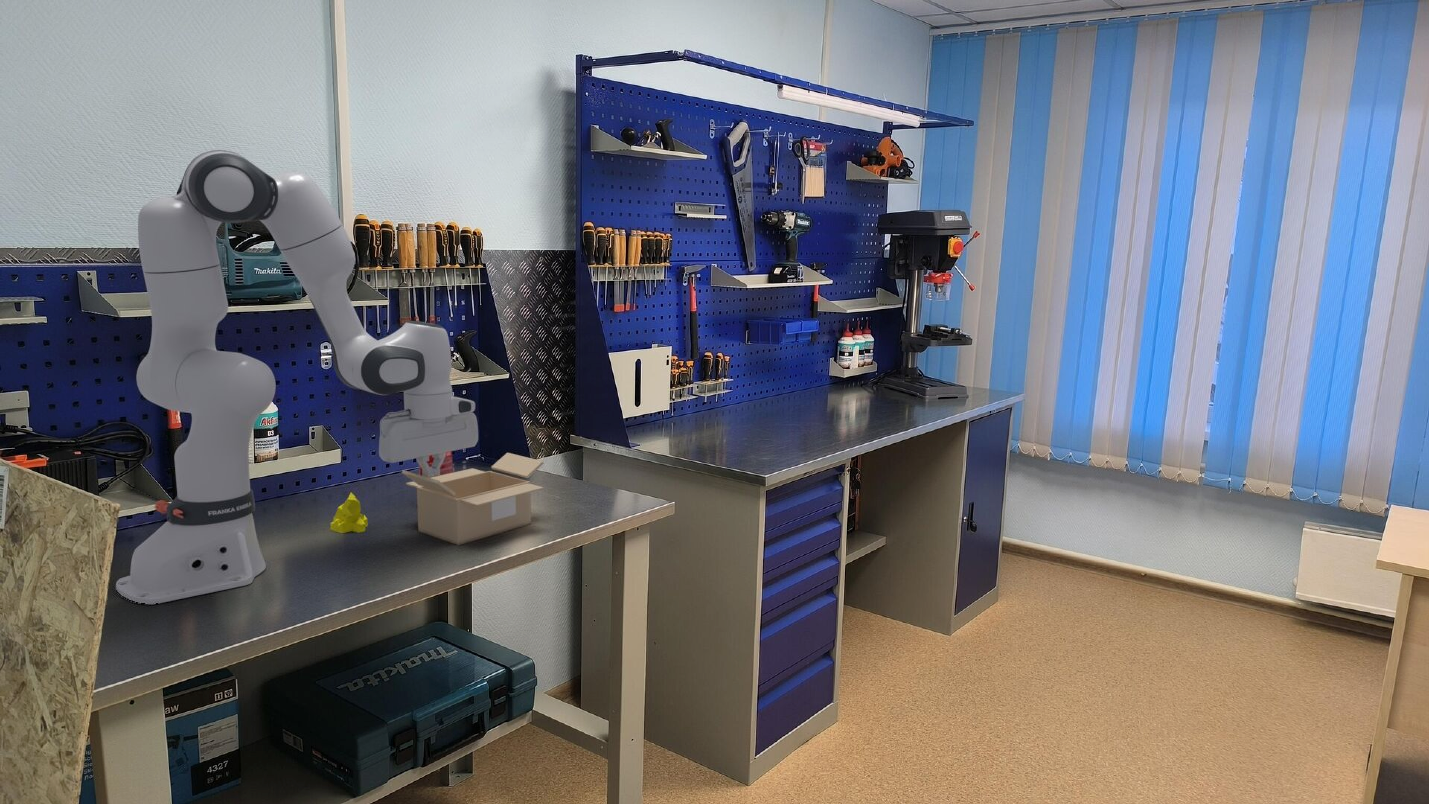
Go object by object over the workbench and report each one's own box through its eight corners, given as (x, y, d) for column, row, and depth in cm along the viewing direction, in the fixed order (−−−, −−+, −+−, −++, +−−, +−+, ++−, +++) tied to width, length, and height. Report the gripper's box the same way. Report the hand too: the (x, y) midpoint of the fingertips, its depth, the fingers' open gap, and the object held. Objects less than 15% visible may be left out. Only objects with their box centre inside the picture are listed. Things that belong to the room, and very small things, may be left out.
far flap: (542, 461, 195) (543, 463, 195) (507, 452, 202) (508, 454, 202) (526, 476, 192) (527, 478, 192) (491, 466, 199) (492, 469, 199)
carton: (474, 550, 177) (473, 504, 175) (404, 526, 190) (402, 483, 189) (547, 528, 191) (546, 485, 189) (476, 507, 204) (475, 467, 203)
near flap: (403, 470, 182) (401, 472, 182) (438, 480, 175) (436, 483, 175) (420, 482, 186) (419, 485, 185) (456, 493, 179) (454, 495, 178)
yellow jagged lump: (349, 521, 193) (347, 485, 192) (374, 528, 189) (372, 491, 188) (324, 528, 188) (322, 491, 187) (349, 536, 184) (347, 498, 183)
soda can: (458, 499, 210) (457, 443, 207) (446, 509, 203) (444, 450, 200) (428, 498, 210) (426, 441, 208) (414, 507, 203) (412, 449, 201)
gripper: (389, 416, 168) (393, 490, 171) (482, 401, 184) (483, 469, 187) (370, 411, 172) (373, 484, 175) (462, 397, 188) (464, 464, 190)
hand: (431, 476), depth 181 cm, fingers closed
